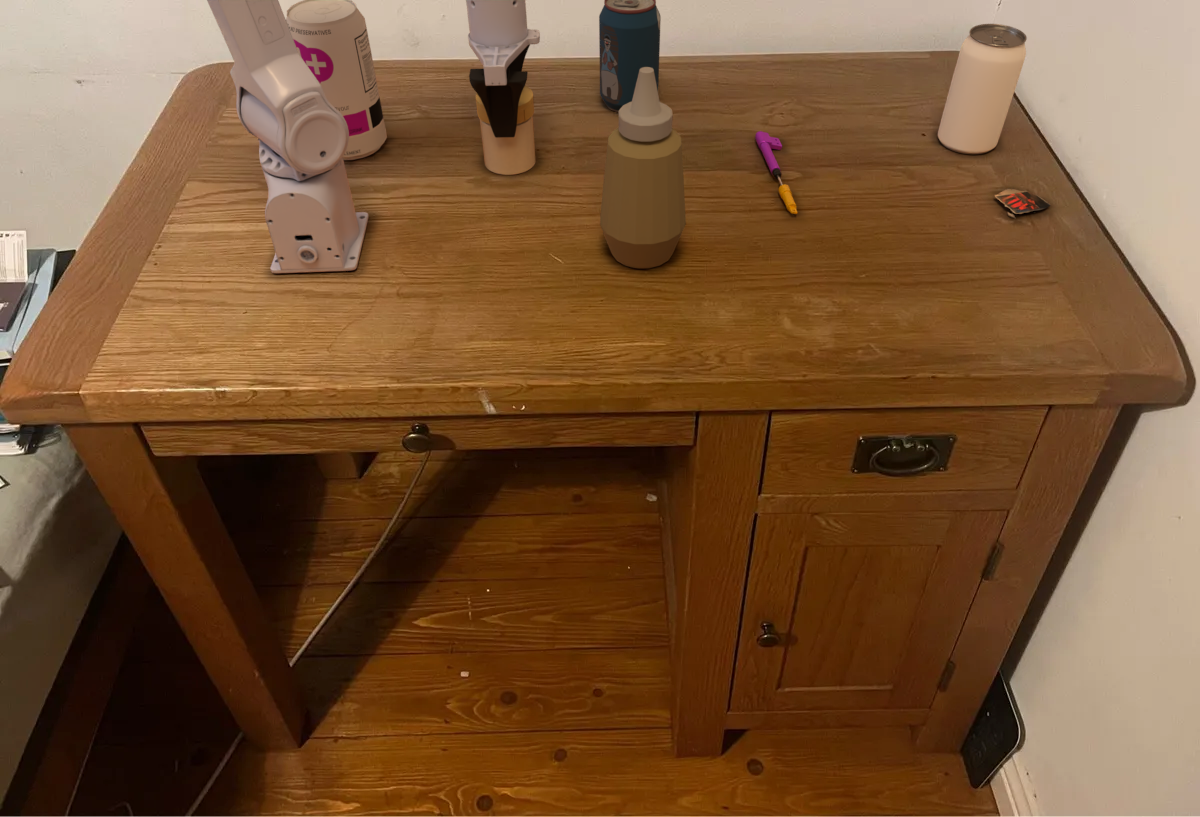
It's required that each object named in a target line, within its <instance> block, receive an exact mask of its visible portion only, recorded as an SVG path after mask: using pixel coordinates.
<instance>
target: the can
mask: <svg viewBox="0 0 1200 817" xmlns="http://www.w3.org/2000/svg"><path fill="white" fill-rule="evenodd" d="M968 33H969V35H967V37H966V38H965V39H964V41H963V42H962V44H961V46H960V50H959V52H958V55H957V60H956V64H955V66H954V71H953V74H952V78H951V82H950V85H949V89H948V92H947V97H946V100H945V104H944V107H943V112H942V116H941V119H940V123H939V126H938V130H937V138H938V139H939V142H940V143H941V145H942V146H943V147H945V148H947V149H948V150H950V151H953V152H955V153H959V154H963V155H971V156H972V155H982V154H986V153H989V152H990V151H992V150H993V149H995V148H996V147H997V145H998V143H999V140H1000V137H1001V134H1002V131H1003V128H1004V124H1005V122H1006V119H1007V116H1008V112H1009V110H1010V107H1011V103H1012V100H1013V97H1014V94H1015V91H1016V88H1017V85H1018V82H1019V79H1020V76H1021V72H1022V69H1023V66H1024V63H1025V59H1026V56H1027V50H1026V42H1027V39H1028V37H1027V35H1026V34H1025V32H1023V31H1022V30H1021V29H1019V28H1016V27H1013V26H1010V25H1007V24H1000V23H982V24H981V23H980V24H976V25H975V26H972V27H971V28H970V29H969V32H968Z"/></svg>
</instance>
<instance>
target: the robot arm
mask: <svg viewBox="0 0 1200 817" xmlns="http://www.w3.org/2000/svg"><path fill="white" fill-rule="evenodd" d="M206 1H207V3H208V5H209V8H210V11H211V13H212V14H213V17H214V19H215V21H216V24H217V26H218V28H219V30H220V33H221V35H222V37H223V40H224V42H225V44H226V46H227V48H228V50H229V53H230V55H231V56H232V57H231V58H232V59H233V62H234V63H233V66H232V67H231V69H230V71H229V74H230V77H231V79H232V81H233V83H234V84H233V85H234V86H235V92H236V102H235V103H236V104H235V107H236V108H235V110H236V114H237V118H238V120H239V122H240V124H241V125H242V127H243V128H244V129H245V130H246V131H247V132H248V133H249V134H251V135H252V136H254V137H256V138H257V141H258V144H259V145H258V156H259V163H260V166H261V170H262V174H263V176H264V179H265V184H266V186H267V193H268V195H267V200H266V204H265V207H264V220H265V223H266V226H267V230H268V233H269V236H270V239H271V242H272V245H273V249H274V252H275V253H274V256H273V259H272V261H271V264H270V268H269V269H270V272H271V273H273V274H295V273H298V274H299V273H321V272H323V273H324V272H346V271H347V272H348V271H355V270H356V269H357V268H358V264H359V260H360V255H361V252H362V247H363V243H364V239H365V235H366V231H367V226H368V222H369V217H370V216H369V213H368V212H366V211H359V212H358V211H356V208H355V204H354V200H353V196H352V195H353V194H352V191H351V187H350V182H349V177H348V174H347V169H346V164H345V160H343V155H344V154H345V151H346V149H347V146H348V141H349V130H348V126H347V123H346V121H345V119H344V117H343V116H342V114H341V113H340V112H339V111H338V110H337V109H336V108H334V107H333V106H332V105H331V104H330V103H329V102H328V100H327V99H326V97H325V94H324V92H323V89H322V86H321V85H320V83H319V82H318V80H317V79H316V77H315V76H314V74H313V73H312V72H311V70H310V69H309V67H308V66H307V65H306V63H305V62H304V61H303V59H302V58H301V56H300V55H299V53H298V50H297V48H296V45H295V43H294V40H293V37H292V35H291V32H290V30H289V27H288V24H287V22H286V17H285V15H284V12H283V10H282V6H281V4H280V1H279V0H206ZM465 3H466V12H467V22H468V30H469V31H468V35H467V40H468V45H469V47H470V49H471V50H472V52H473V54H474V55H475V56H476V57H477V59H478V60H479V62H480V64H481V65H482V66H483V68H470V69H469V75H468V78H469V83H470V85H471V88H472V89H473V90H474V91H475V93H476V94H478V96H479V97H480V99H481V101H482V103H483V105H484V107H485V110H486V113H487V116H488V119H489V122H490V126H491V128H492V131H493V134H494V136H495V137H496V138H501V137H515V133H516V127H517V116H518V105H519V100H520V96H521V93H522V90H523V88H524V86H526V83H527V82H528V81H527V80H528V73H529V72H528V71H525V70H524V71H523V67H524V63H525V59H526V55H527V53H528V51H529V48H530V46H531V45H538V44H540V42H541V41H540V39H541V34H540V33H541V32H540V30H539V29H530V28H528V20H527V19H528V18H527V3H526V0H465Z"/></svg>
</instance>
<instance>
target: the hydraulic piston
mask: <svg viewBox="0 0 1200 817" xmlns="http://www.w3.org/2000/svg"><path fill="white" fill-rule="evenodd" d="M754 135H755V136H754V139H755V141H756V144H757V146H758V149H759V150H760V151H761V153H762V155H763V158H764V159H765V163H766V165H767V166H768V168H769V171H770V174H771V175H772V177H773V178H774V179H775V180H778V182H779V187H778V190H777V191H778V194H779V196H780V198H781V199H782V201H783V203H784V206H785V207H786V210H787V211H788V212H789V213H790V214H794V215H797V214H798V210H797V203H796V202H795V199H794V197H793V192H792V190H791V188H790V185H788V184H783V182H782V179H781V177H782V172H781V167H780V166H779V163H778V161H777V159H776V157H775V155H774V152H773V150H779V151H781V150H782V148H783V145H782V143H781V141H780V138H779V137H774V136H770V134H769V133H768V132H766V131H762V130H759V131H757V132H756V133H755V134H754Z"/></svg>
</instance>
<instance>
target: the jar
mask: <svg viewBox="0 0 1200 817" xmlns="http://www.w3.org/2000/svg"><path fill="white" fill-rule="evenodd" d="M479 125H480V135H481V144H482V154H483V161H484V167H485V168H486V169H487V170H488V171H490V172H491V173H494V174H497V175H502V176H512V175H519V174H522V173H525V172H527V171H529V170H531V169H533V167H534V166H535V164H536V162H537V161H536V160H537V158H536V145H535V144H536V142H535V130H534V114H533V115H532V117H531V118H529V119H528V120H526V121H524V122H522V123H519V124H517V127H516V133H515V137H501V138H496V137H495V136H494V134H493V131H492V128H491V126H490V124H488V123H486V122H484V121H482V120H481V119H480V118H479Z"/></svg>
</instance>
